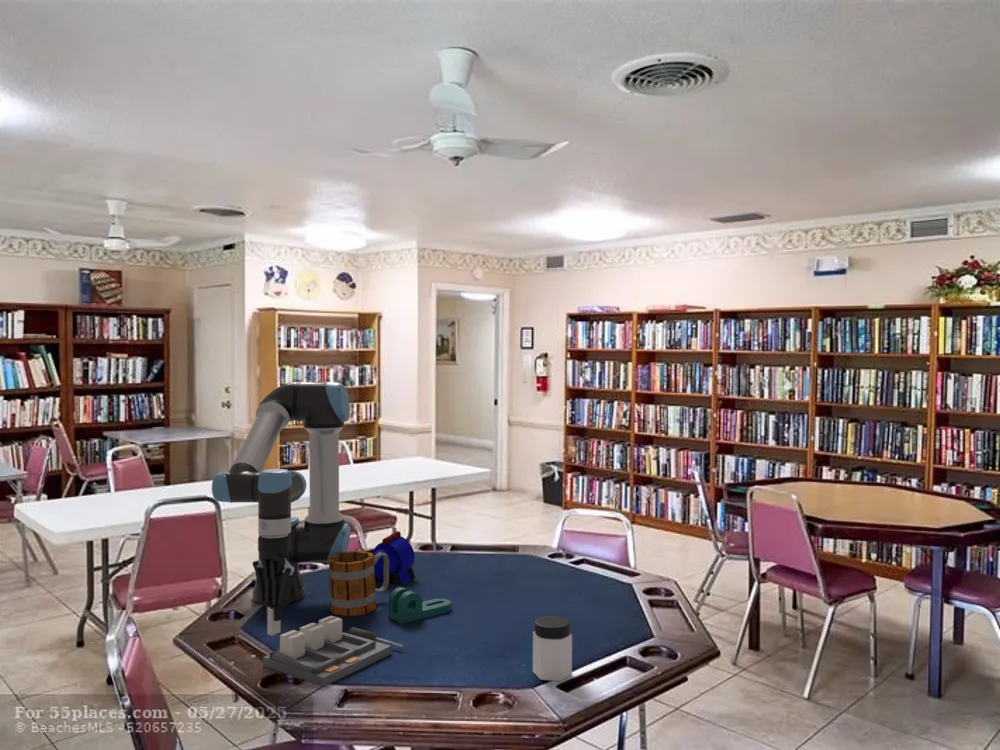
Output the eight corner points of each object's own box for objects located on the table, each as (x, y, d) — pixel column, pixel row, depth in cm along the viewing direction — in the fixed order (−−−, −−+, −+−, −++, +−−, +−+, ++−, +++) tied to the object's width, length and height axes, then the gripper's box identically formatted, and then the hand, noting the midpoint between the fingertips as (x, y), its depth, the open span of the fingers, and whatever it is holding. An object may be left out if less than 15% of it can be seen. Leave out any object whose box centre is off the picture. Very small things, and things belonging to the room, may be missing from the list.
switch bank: (262, 665, 174) (262, 652, 174) (332, 636, 192) (332, 624, 192) (323, 686, 163) (323, 672, 163) (391, 653, 181) (391, 640, 181)
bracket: (401, 624, 202) (401, 595, 202) (388, 617, 207) (388, 589, 207) (455, 610, 213) (455, 583, 213) (441, 604, 218) (442, 578, 218)
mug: (346, 621, 205) (344, 567, 204) (320, 609, 214) (317, 558, 214) (403, 601, 219) (401, 551, 218) (376, 592, 228) (374, 543, 227)
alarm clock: (416, 577, 245) (417, 532, 245) (392, 586, 235) (392, 539, 235) (388, 571, 252) (388, 527, 251) (363, 580, 241) (363, 534, 241)
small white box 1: (279, 656, 173) (279, 634, 173) (293, 650, 177) (293, 629, 177) (291, 660, 171) (291, 638, 171) (305, 654, 174) (305, 632, 174)
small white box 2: (318, 640, 183) (318, 619, 183) (330, 635, 187) (330, 615, 187) (330, 643, 181) (330, 622, 181) (342, 638, 184) (342, 618, 184)
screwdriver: (348, 637, 191) (348, 628, 191) (355, 635, 193) (355, 625, 193) (399, 652, 182) (399, 642, 182) (405, 649, 184) (405, 639, 184)
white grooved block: (299, 648, 178) (299, 626, 178) (312, 642, 182) (312, 622, 182) (311, 651, 176) (311, 630, 176) (324, 646, 179) (324, 625, 179)
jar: (549, 662, 176) (549, 612, 176) (577, 672, 171) (578, 620, 171) (525, 675, 169) (526, 622, 169) (554, 685, 164) (555, 631, 164)
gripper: (243, 534, 178) (242, 632, 178) (281, 541, 171) (280, 643, 172) (268, 528, 185) (267, 623, 185) (305, 535, 178) (305, 633, 178)
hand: (273, 633), depth 178 cm, fingers closed
